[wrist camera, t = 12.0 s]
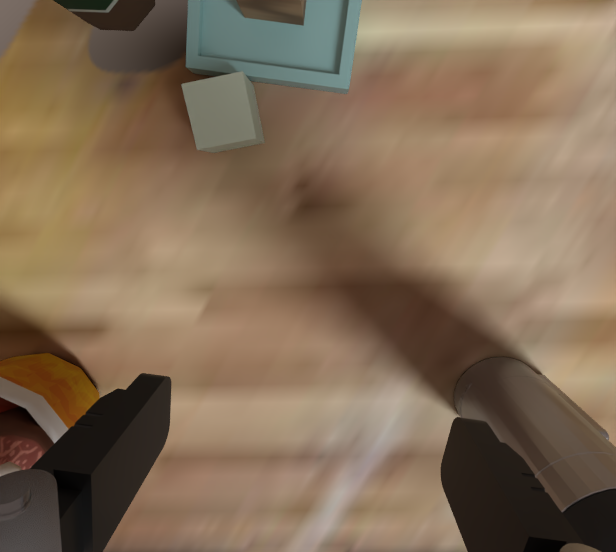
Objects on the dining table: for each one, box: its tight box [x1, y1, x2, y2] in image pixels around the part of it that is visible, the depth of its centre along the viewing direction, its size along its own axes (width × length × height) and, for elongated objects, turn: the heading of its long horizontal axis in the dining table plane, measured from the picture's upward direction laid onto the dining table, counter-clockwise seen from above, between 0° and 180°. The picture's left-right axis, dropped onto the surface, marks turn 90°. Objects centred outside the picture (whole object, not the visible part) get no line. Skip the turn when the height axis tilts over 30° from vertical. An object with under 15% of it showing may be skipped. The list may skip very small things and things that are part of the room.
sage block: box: [181, 71, 265, 153], centre depth 32 cm, size 5×5×5 cm
